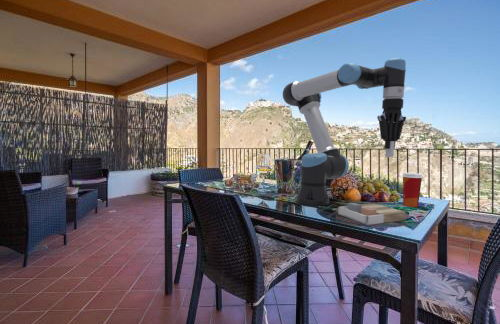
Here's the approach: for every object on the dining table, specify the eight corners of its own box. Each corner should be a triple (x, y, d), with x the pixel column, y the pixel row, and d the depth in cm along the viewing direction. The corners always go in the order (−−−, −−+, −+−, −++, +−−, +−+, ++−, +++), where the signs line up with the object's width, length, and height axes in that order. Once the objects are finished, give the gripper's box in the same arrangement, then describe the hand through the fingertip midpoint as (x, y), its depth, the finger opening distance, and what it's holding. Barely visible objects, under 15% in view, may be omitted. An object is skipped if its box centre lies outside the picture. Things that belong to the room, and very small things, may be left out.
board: (353, 212, 112) (354, 205, 112) (374, 210, 116) (374, 203, 116) (383, 222, 98) (383, 214, 98) (405, 219, 102) (405, 212, 102)
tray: (338, 213, 109) (338, 206, 109) (353, 212, 112) (354, 205, 112) (366, 225, 95) (366, 216, 95) (383, 222, 98) (383, 214, 98)
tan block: (367, 217, 103) (361, 218, 101) (368, 207, 102) (361, 207, 101) (375, 220, 99) (369, 221, 98) (376, 209, 98) (370, 210, 97)
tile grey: (353, 212, 109) (347, 213, 108) (354, 202, 109) (348, 203, 108) (361, 214, 106) (355, 215, 105) (361, 204, 105) (355, 205, 104)
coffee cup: (407, 202, 131) (409, 172, 129) (424, 206, 123) (426, 174, 122) (396, 204, 127) (398, 173, 125) (413, 208, 119) (415, 175, 118)
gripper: (387, 96, 104) (383, 157, 106) (413, 98, 108) (409, 157, 110) (373, 99, 111) (369, 156, 113) (397, 101, 115) (394, 156, 117)
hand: (389, 156), depth 111 cm, fingers closed
